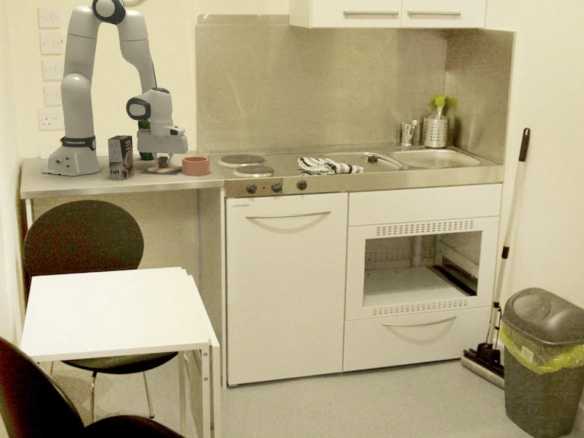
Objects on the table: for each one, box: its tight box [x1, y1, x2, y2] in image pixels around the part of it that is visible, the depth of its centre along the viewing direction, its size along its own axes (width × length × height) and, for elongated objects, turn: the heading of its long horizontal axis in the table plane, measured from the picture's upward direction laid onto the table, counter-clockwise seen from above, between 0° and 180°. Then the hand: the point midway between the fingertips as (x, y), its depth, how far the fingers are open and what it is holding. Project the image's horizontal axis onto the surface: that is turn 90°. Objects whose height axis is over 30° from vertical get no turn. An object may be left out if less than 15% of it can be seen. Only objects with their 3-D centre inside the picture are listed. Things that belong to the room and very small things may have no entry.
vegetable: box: [137, 119, 155, 161], centre depth 317 cm, size 7×7×20 cm
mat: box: [139, 165, 182, 176], centre depth 300 cm, size 15×15×1 cm
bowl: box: [181, 155, 211, 177], centre depth 295 cm, size 10×10×6 cm
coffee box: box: [107, 134, 135, 181], centre depth 286 cm, size 9×6×16 cm
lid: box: [146, 155, 180, 175], centre depth 299 cm, size 13×13×5 cm
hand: (163, 163), depth 299 cm, fingers closed on lid, 3 cm apart
